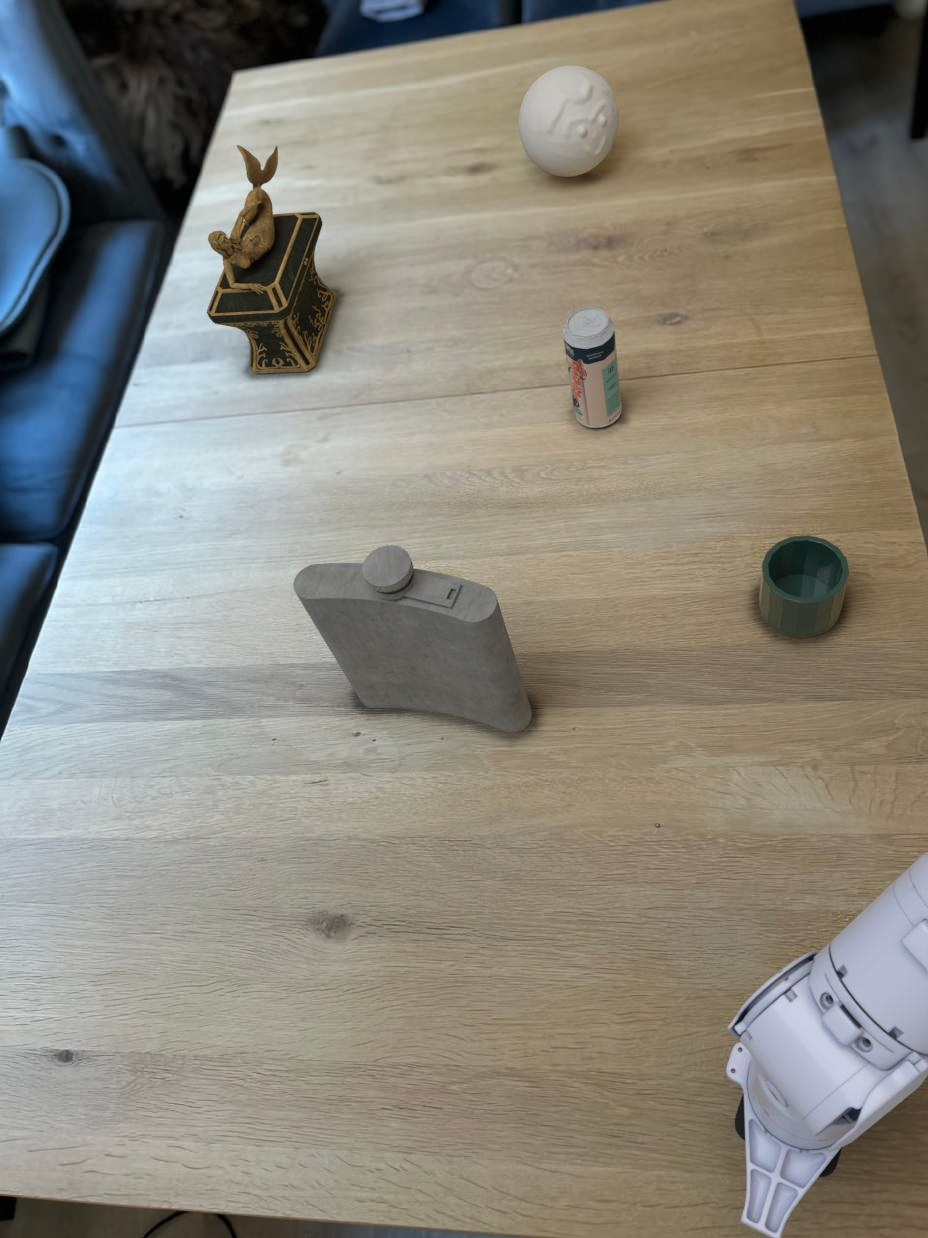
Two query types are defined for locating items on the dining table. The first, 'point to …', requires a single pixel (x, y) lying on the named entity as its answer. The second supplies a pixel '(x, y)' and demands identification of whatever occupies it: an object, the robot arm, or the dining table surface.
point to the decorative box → (272, 280)
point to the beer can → (593, 367)
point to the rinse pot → (802, 586)
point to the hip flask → (417, 638)
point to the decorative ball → (568, 120)
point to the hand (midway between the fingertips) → (789, 1111)
